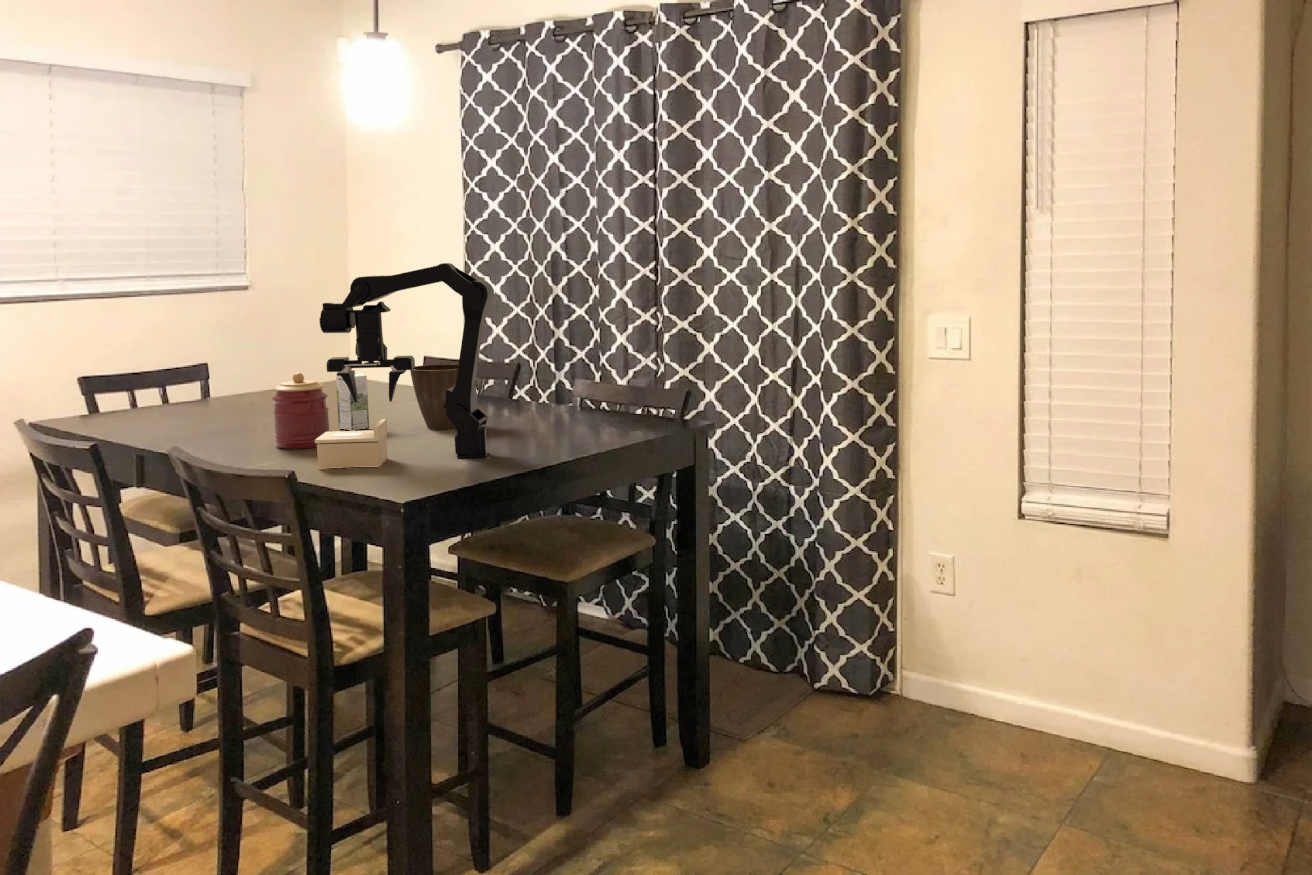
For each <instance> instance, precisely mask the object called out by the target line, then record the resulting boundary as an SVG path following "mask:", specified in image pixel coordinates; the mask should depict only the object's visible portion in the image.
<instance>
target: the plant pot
mask: <svg viewBox="0 0 1312 875" xmlns="http://www.w3.org/2000/svg"><path fill="white" fill-rule="evenodd" d="M458 365H459V364H456V363H455V364H452V363H451V364H450V363H447V364H446V363H444V364H443V363H442V364H440V363H439V364H425V365H415V368H413V369H412V370H409V372H410V376H411V377H410V378H411V382H412V386H413V390H414V394H415V398H416V401H417V403H418V408H419V410H420V413H421V415H422V419H423V420H424V423H425V425H426V427H427V429H429V430H450V429H456V428H455V426H454V423H453V422H451V421H450V420H449V418H448V417H447V416H446V408H443V406H444V404H445V401H446V390H447V389H449V388H451V387H454V386H455V383H456V379H457V372H458Z"/></svg>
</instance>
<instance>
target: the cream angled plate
mask: <svg viewBox="0 0 1312 875" xmlns="http://www.w3.org/2000/svg"><path fill="white" fill-rule="evenodd" d="M372 429H373V430H372ZM372 429H370V430H369V429H366V430H357V431H345V430H339V431H337V430H336V431H330V432H325V433H324V434H322V435H321V436H319V437H318V438H317V439H315V443H339V442H372V441H380V440H381V439H382V438H383V437H384V436H385V435H386V436H387V434H388V433H389V431H388V419H387V418H382V419H380V420H379V421H378V422H377V423H376V424H375V425H374V426H373V428H372Z"/></svg>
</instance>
